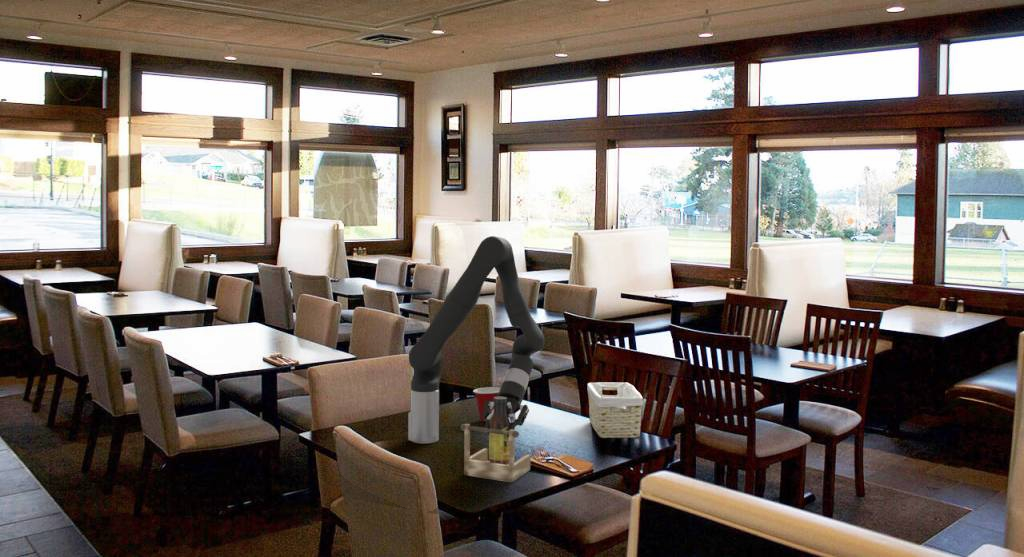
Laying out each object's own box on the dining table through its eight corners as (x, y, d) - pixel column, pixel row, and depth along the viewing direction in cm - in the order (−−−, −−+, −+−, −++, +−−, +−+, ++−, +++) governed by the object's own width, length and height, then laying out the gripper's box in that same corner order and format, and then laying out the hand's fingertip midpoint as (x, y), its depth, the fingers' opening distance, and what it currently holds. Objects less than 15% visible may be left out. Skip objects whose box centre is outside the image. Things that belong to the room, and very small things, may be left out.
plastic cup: (485, 416, 323) (485, 384, 322) (508, 420, 317) (509, 388, 316) (466, 421, 314) (467, 389, 313) (490, 426, 308) (491, 393, 307)
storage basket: (643, 439, 295) (644, 396, 294) (596, 439, 294) (597, 396, 293) (629, 421, 319) (630, 381, 317) (585, 421, 318) (586, 381, 316)
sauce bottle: (507, 467, 254) (508, 401, 252) (486, 466, 255) (487, 399, 253) (512, 461, 261) (512, 395, 259) (491, 459, 262) (492, 394, 260)
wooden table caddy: (458, 474, 254) (459, 424, 253) (479, 462, 267) (479, 414, 265) (516, 483, 247) (517, 431, 246) (534, 470, 259) (535, 421, 258)
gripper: (488, 377, 265) (471, 424, 256) (532, 382, 260) (516, 430, 250) (496, 391, 271) (479, 437, 261) (539, 395, 265) (523, 444, 255)
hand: (497, 434), depth 256 cm, fingers closed on sauce bottle, 6 cm apart
